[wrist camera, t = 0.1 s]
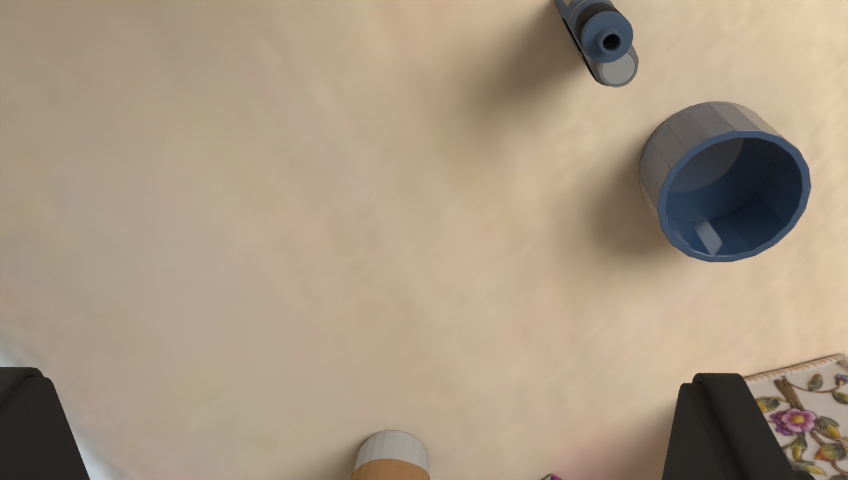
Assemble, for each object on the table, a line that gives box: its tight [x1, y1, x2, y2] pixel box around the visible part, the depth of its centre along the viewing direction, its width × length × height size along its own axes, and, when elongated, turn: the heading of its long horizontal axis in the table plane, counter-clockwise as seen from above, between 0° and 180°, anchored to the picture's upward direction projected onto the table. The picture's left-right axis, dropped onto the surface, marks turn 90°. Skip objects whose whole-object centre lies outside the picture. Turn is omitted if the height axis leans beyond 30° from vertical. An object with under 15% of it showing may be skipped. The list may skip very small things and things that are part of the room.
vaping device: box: [555, 0, 638, 87], centre depth 37 cm, size 3×5×12 cm, turn 32°
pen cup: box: [638, 102, 811, 262], centre depth 44 cm, size 9×9×6 cm
